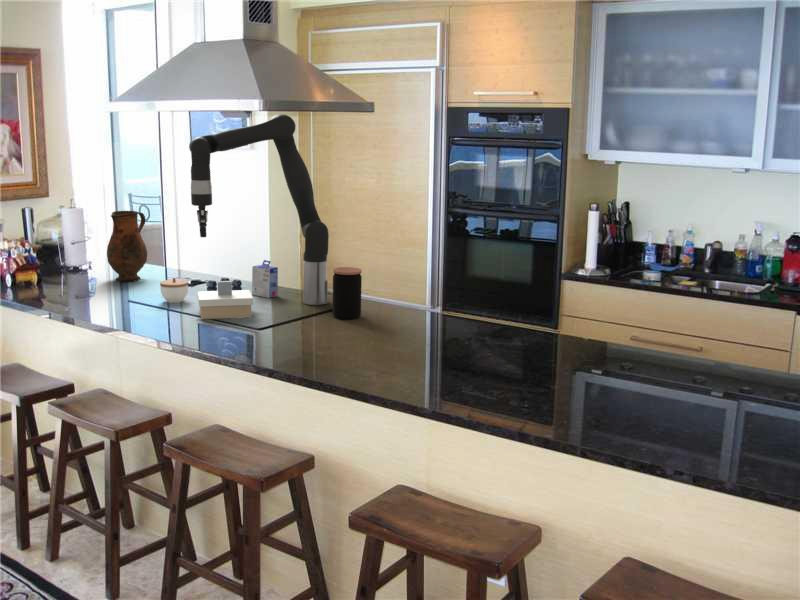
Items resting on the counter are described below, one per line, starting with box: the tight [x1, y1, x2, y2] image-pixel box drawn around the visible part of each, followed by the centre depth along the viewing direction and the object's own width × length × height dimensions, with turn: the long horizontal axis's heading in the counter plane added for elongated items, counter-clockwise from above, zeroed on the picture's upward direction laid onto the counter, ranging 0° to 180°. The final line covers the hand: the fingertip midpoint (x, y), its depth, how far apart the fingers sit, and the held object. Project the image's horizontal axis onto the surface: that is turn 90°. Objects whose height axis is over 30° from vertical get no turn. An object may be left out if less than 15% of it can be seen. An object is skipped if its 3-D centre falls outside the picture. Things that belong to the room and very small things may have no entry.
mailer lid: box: [197, 280, 254, 308], centre depth 300 cm, size 19×14×8 cm
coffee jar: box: [332, 266, 363, 321], centre depth 302 cm, size 11×11×18 cm
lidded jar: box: [159, 277, 189, 304], centre depth 319 cm, size 11×11×9 cm
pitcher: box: [106, 210, 148, 283], centre depth 356 cm, size 17×21×30 cm
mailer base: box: [199, 305, 252, 320], centre depth 301 cm, size 18×13×7 cm
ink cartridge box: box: [251, 259, 279, 299], centre depth 333 cm, size 10×6×14 cm, turn 58°
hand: (203, 235), depth 304 cm, fingers open, 8 cm apart
